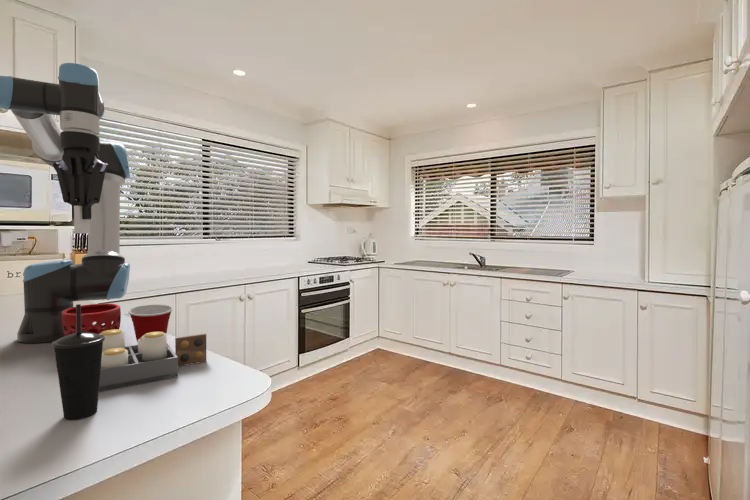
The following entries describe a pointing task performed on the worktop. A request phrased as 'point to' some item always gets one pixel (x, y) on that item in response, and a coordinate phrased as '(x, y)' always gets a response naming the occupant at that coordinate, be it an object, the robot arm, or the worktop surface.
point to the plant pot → (92, 318)
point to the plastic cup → (150, 319)
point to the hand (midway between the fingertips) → (82, 233)
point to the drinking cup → (79, 370)
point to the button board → (139, 370)
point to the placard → (190, 349)
